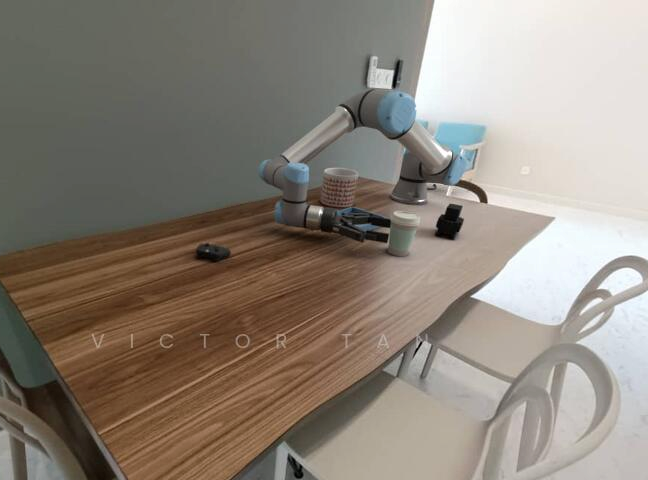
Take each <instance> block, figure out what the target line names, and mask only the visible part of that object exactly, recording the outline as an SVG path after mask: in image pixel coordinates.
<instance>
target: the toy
mask: <svg viewBox="0 0 648 480" xmlns="http://www.w3.org/2000/svg"><path fill="white" fill-rule="evenodd" d="M462 210H463V205H461V204H457V203H449V204H448V205H447V206H446V209H445V212H444V213H441V214H440V215H439V217H438V218H437V221H436V224H435V228H436V233H435V236H436V237H439V236H440V235H441V233H443V234H447V235H451V237H450V240H452V241H454V240H455V238H456V236H457V234H458V233H460V231H461V229H462V227H463V225H464V221H465V218H463V217H461V213H462Z"/></svg>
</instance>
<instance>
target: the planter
mask: <svg viewBox="0 0 648 480" xmlns="http://www.w3.org/2000/svg"><path fill="white" fill-rule="evenodd" d="M358 180H359V172H358V171H356V170H354V169H349V168H343V167H328V168H325V169H324V170H323V175H322V184H321V190H320V191H321V192H320V199H319V200H320V201H319V202H320V203H321V204H322V205H324V206H327V207H328V208H333V209H345V208H349V207H352V206H353V207H354V204H355V199H356V192H357V186H358Z"/></svg>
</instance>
